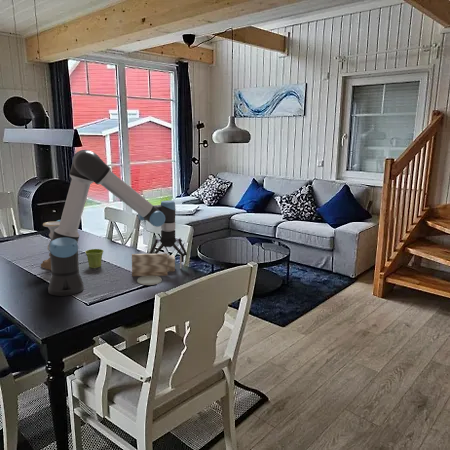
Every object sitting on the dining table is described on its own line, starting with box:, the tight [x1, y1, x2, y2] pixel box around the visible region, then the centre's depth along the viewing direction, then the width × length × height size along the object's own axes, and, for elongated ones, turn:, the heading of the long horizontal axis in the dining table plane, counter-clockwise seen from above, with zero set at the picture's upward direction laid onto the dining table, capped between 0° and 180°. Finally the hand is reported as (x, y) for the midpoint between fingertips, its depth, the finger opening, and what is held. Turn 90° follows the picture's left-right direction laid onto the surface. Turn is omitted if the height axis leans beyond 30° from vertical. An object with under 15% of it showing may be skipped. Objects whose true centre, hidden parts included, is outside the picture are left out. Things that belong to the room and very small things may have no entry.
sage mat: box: [136, 275, 163, 286], centre depth 198 cm, size 12×12×1 cm
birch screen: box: [131, 253, 169, 277], centre depth 205 cm, size 18×4×11 cm, turn 99°
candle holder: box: [40, 220, 60, 271], centre depth 212 cm, size 11×11×24 cm
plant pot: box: [85, 248, 104, 269], centre depth 215 cm, size 9×9×9 cm
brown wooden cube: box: [167, 254, 176, 272], centre depth 215 cm, size 7×7×7 cm
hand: (168, 267), depth 215 cm, fingers open, 13 cm apart
